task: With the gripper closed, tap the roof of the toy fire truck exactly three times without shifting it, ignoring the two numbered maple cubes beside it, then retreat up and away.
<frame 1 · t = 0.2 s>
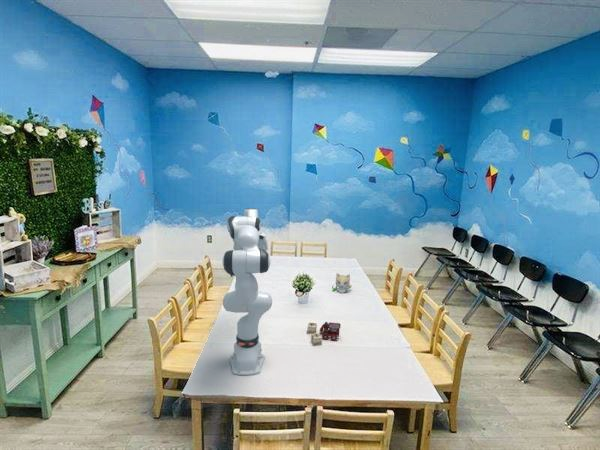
hand: (250, 257, 227), 48 cm above the table, fingers open, 8 cm apart
kitten: (341, 292, 300), on the table
maple cube seven: (311, 332, 238), on the table
maple cube one: (316, 343, 226), on the table
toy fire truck: (329, 337, 233), on the table
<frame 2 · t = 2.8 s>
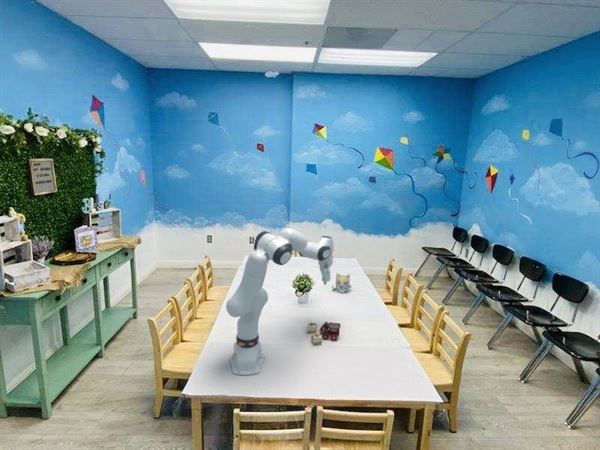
hand: (324, 282, 236), 31 cm above the table, fingers open, 4 cm apart
nothing on the table moved.
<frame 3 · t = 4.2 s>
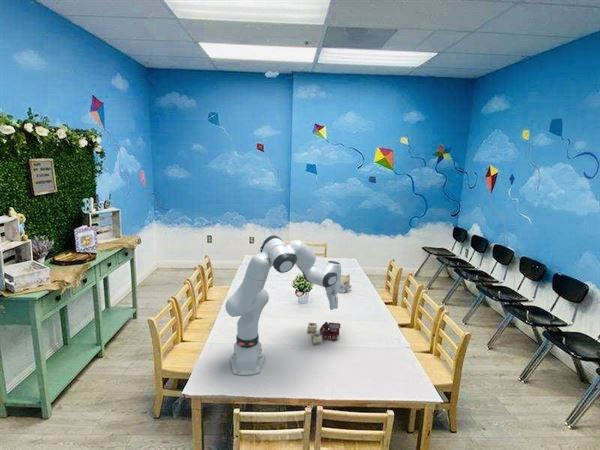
hand: (331, 308, 228), 19 cm above the table, fingers closed
nothing on the table moved.
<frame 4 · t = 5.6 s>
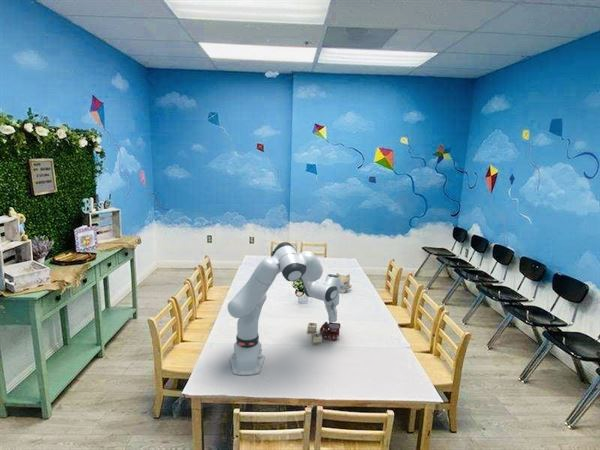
hand: (330, 321, 230), 11 cm above the table, fingers closed
nothing on the table moved.
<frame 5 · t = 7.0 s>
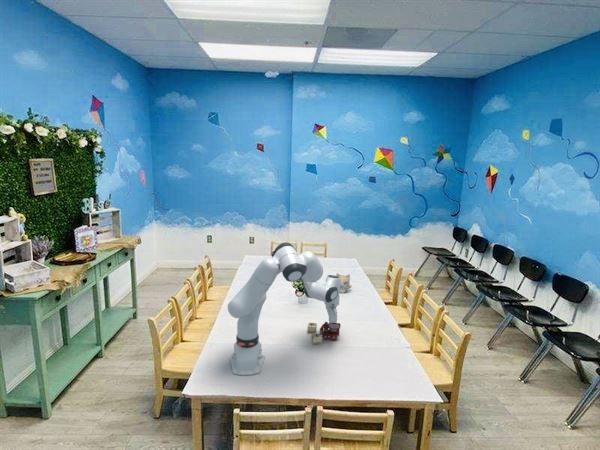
hand: (330, 322, 230), 10 cm above the table, fingers closed
nothing on the table moved.
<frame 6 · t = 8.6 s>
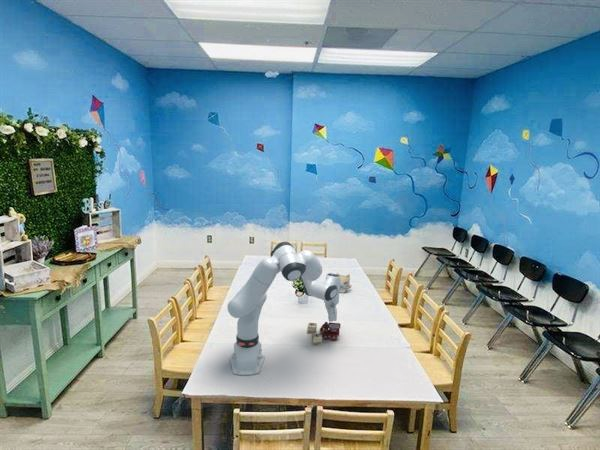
hand: (330, 320, 230), 11 cm above the table, fingers closed
nothing on the table moved.
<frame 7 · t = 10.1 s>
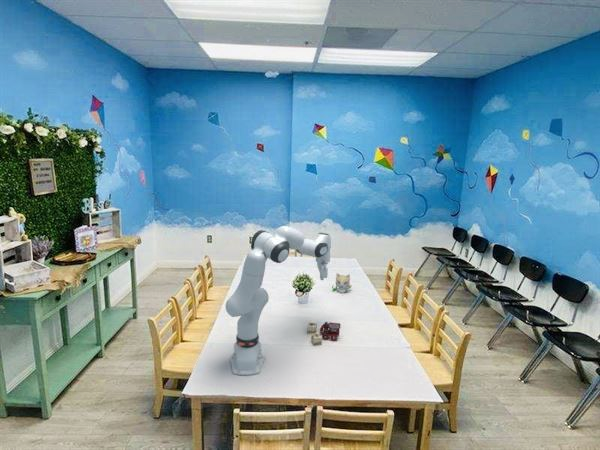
hand: (321, 279, 237), 33 cm above the table, fingers closed
nothing on the table moved.
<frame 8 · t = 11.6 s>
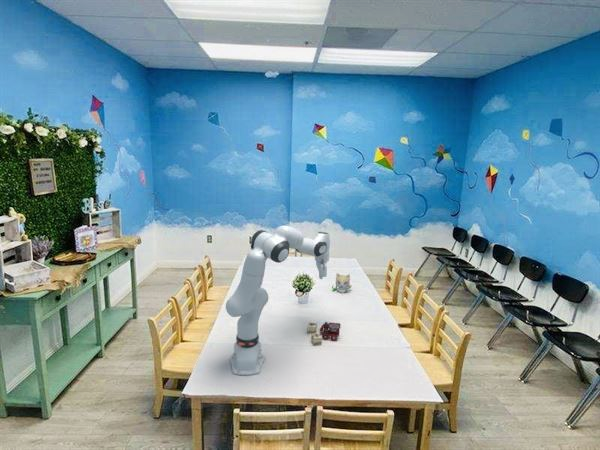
hand: (320, 278, 238), 33 cm above the table, fingers closed
nothing on the table moved.
at the end: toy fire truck moved 0.3 cm from its start; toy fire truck tilted 0°; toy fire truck touching table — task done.
